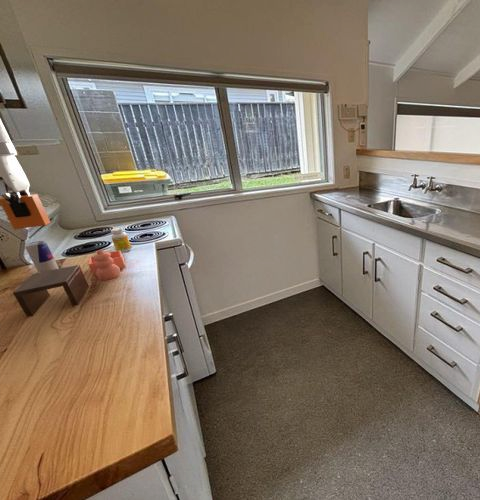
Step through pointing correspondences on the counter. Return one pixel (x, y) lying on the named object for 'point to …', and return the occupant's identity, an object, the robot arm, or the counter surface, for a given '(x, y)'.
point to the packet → (36, 210)
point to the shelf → (37, 284)
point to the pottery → (106, 264)
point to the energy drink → (41, 256)
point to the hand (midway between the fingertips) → (27, 214)
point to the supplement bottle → (120, 240)
